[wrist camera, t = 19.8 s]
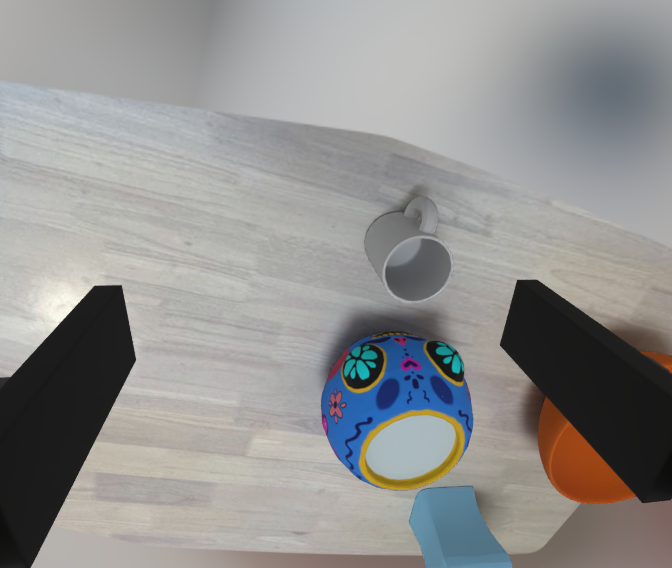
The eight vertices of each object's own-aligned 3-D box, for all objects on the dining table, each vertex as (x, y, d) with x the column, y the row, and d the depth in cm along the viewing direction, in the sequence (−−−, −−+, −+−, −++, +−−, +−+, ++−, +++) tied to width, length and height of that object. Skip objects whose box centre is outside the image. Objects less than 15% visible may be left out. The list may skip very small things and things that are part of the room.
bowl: (577, 467, 71) (622, 521, 62) (477, 420, 62) (511, 476, 53) (691, 363, 64) (760, 407, 55) (595, 294, 55) (658, 333, 46)
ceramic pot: (449, 304, 52) (511, 378, 39) (431, 410, 60) (477, 502, 46) (315, 309, 50) (332, 390, 36) (313, 419, 57) (326, 519, 44)
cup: (355, 261, 48) (371, 295, 40) (384, 178, 44) (409, 198, 36) (409, 274, 49) (436, 309, 41) (442, 197, 46) (478, 218, 38)
